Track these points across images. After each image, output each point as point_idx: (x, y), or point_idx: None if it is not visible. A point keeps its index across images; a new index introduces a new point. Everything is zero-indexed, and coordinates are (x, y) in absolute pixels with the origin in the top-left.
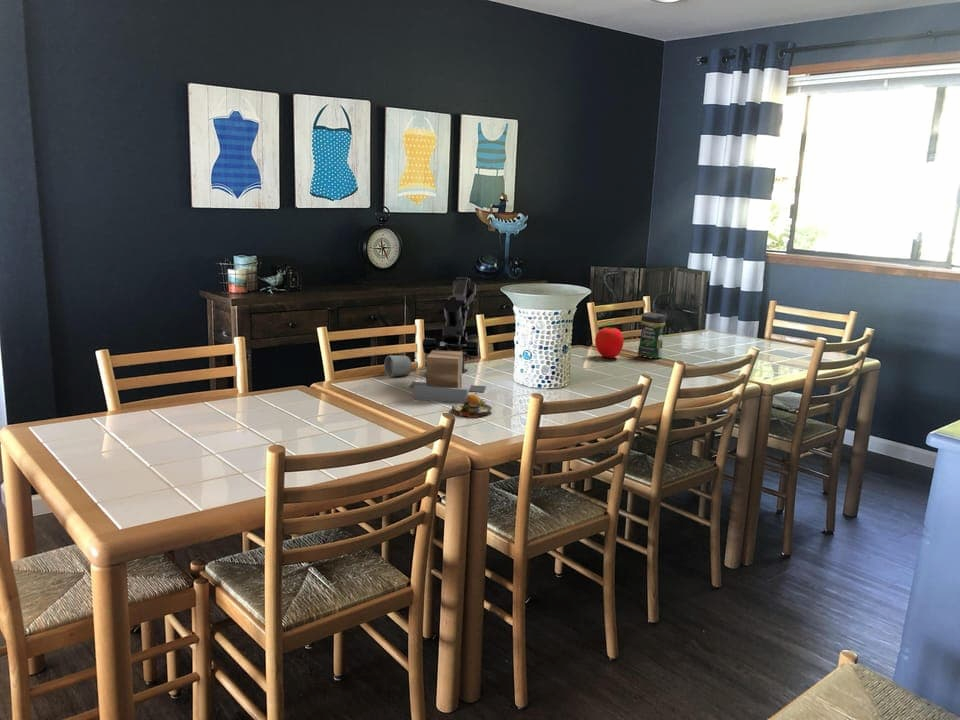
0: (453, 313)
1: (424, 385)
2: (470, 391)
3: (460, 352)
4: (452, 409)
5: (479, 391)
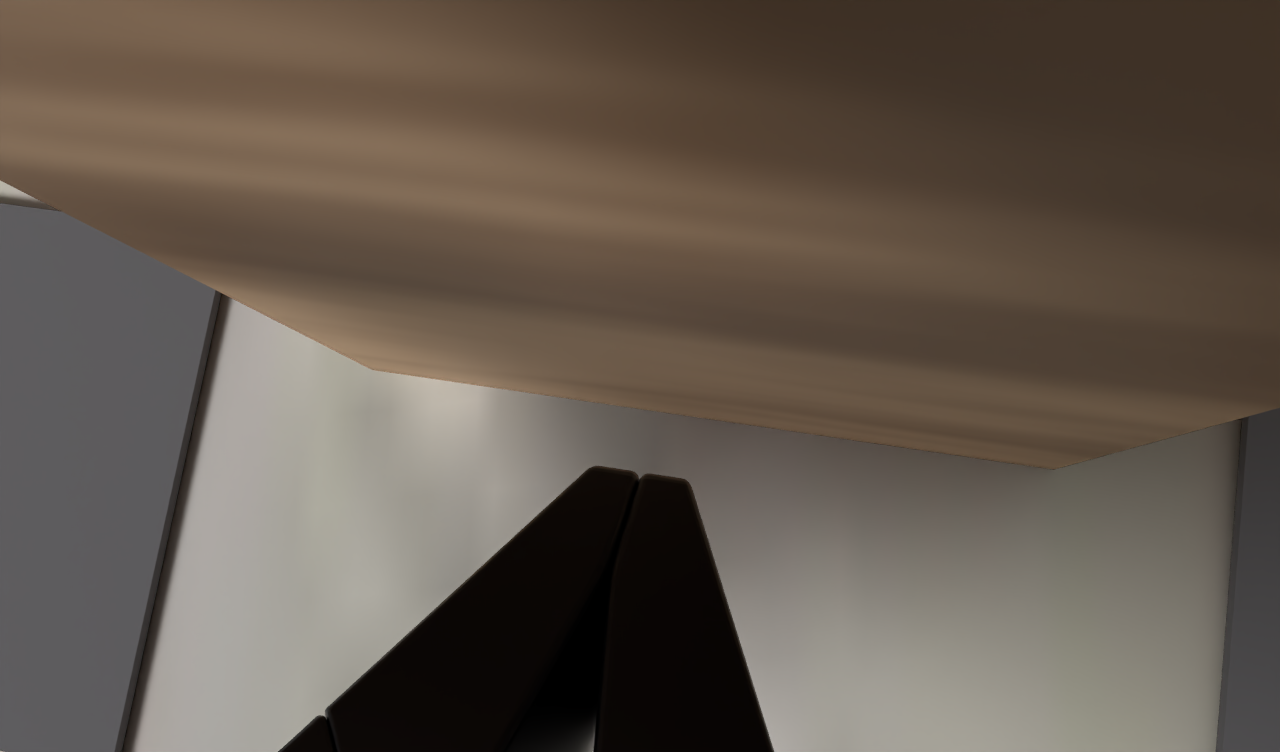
0: None
1: (1250, 637)
2: None
3: None
4: None
5: (10, 214)
